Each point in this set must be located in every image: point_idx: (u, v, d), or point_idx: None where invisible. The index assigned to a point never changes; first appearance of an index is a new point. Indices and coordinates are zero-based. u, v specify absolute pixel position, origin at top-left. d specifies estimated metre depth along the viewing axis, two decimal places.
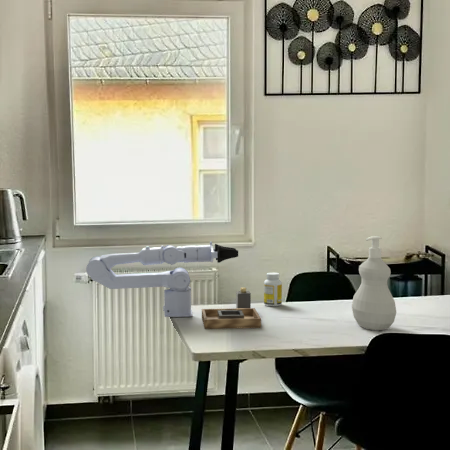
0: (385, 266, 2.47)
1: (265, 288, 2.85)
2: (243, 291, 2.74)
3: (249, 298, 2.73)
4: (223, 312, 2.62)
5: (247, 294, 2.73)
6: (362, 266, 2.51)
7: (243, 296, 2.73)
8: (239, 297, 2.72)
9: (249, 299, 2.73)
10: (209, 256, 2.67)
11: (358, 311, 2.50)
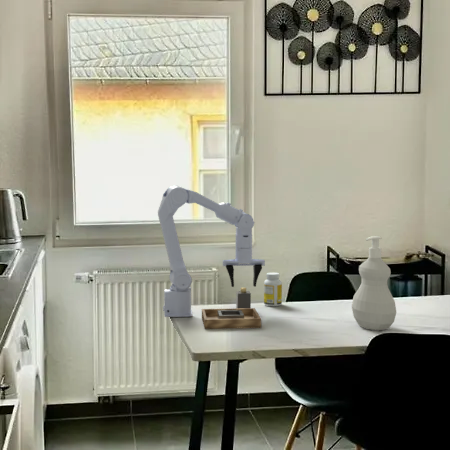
0: (385, 266, 2.47)
1: (265, 288, 2.85)
2: (243, 291, 2.74)
3: (249, 298, 2.73)
4: (223, 312, 2.62)
5: (247, 294, 2.73)
6: (362, 266, 2.51)
7: (243, 296, 2.73)
8: (239, 297, 2.72)
9: (249, 299, 2.73)
10: (251, 259, 2.73)
11: (358, 311, 2.50)
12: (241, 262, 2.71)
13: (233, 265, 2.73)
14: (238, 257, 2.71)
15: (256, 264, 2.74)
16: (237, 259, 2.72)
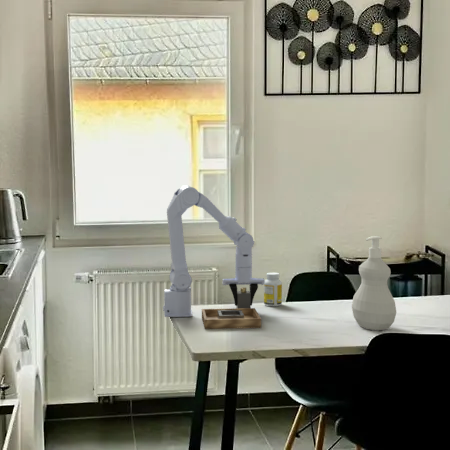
0: (385, 266, 2.47)
1: (265, 288, 2.85)
2: (243, 291, 2.74)
3: (249, 298, 2.73)
4: (223, 312, 2.62)
5: (247, 294, 2.73)
6: (362, 266, 2.51)
7: (243, 296, 2.73)
8: (239, 297, 2.72)
9: (249, 299, 2.73)
10: (251, 278, 2.74)
11: (358, 311, 2.50)
12: (241, 281, 2.71)
13: None
14: (238, 276, 2.72)
15: (256, 283, 2.74)
16: (237, 278, 2.72)
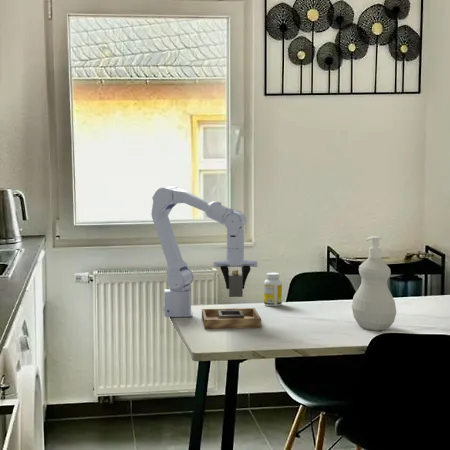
0: (385, 266, 2.47)
1: (265, 288, 2.85)
2: (235, 274, 2.62)
3: (241, 281, 2.61)
4: (223, 312, 2.62)
5: (239, 277, 2.61)
6: (362, 266, 2.51)
7: (235, 279, 2.61)
8: (231, 280, 2.61)
9: (241, 282, 2.61)
10: (243, 260, 2.62)
11: (358, 311, 2.50)
12: (233, 263, 2.60)
13: None
14: (229, 258, 2.60)
15: (248, 265, 2.63)
16: (228, 260, 2.61)
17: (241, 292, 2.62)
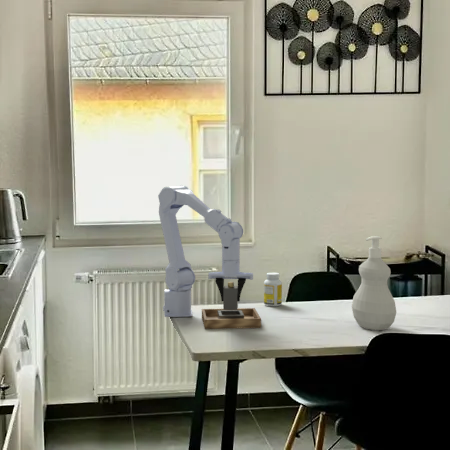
0: (385, 266, 2.47)
1: (265, 288, 2.85)
2: (230, 286, 2.57)
3: (236, 293, 2.56)
4: (223, 312, 2.62)
5: (233, 289, 2.56)
6: (362, 266, 2.51)
7: (229, 291, 2.56)
8: (225, 292, 2.56)
9: (236, 294, 2.56)
10: (238, 272, 2.56)
11: (358, 311, 2.50)
12: (226, 275, 2.55)
13: None
14: (224, 270, 2.55)
15: (244, 278, 2.57)
16: (223, 272, 2.56)
17: (235, 305, 2.56)
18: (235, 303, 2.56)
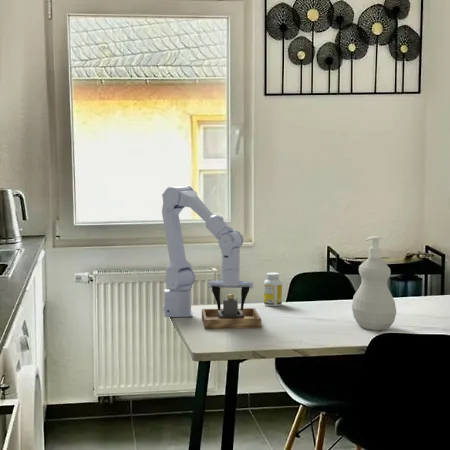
0: (385, 266, 2.47)
1: (265, 288, 2.85)
2: (230, 298, 2.57)
3: (235, 306, 2.56)
4: None
5: (233, 301, 2.56)
6: (362, 266, 2.51)
7: (229, 303, 2.56)
8: (225, 304, 2.56)
9: (235, 307, 2.56)
10: (238, 281, 2.57)
11: (358, 311, 2.50)
12: (226, 284, 2.55)
13: (219, 287, 2.58)
14: (224, 279, 2.56)
15: (244, 286, 2.57)
16: (223, 281, 2.56)
17: None
18: None
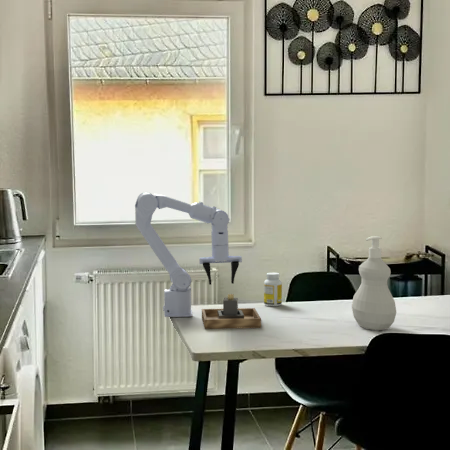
0: (385, 266, 2.47)
1: (265, 288, 2.85)
2: (230, 298, 2.57)
3: (235, 306, 2.56)
4: None
5: (233, 301, 2.56)
6: (362, 266, 2.51)
7: (229, 303, 2.56)
8: (225, 304, 2.56)
9: (235, 307, 2.56)
10: (228, 255, 2.70)
11: (358, 311, 2.50)
12: (217, 259, 2.68)
13: None
14: (214, 254, 2.69)
15: (233, 261, 2.71)
16: (213, 256, 2.69)
17: None
18: None
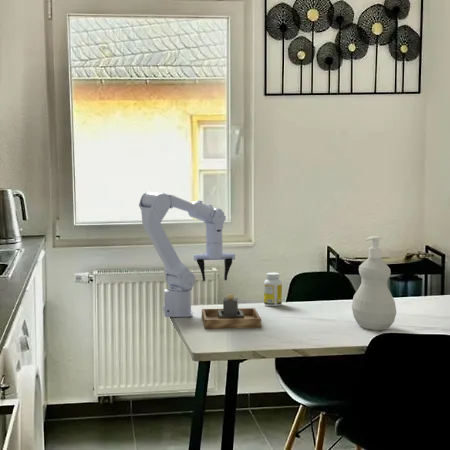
0: (385, 266, 2.47)
1: (265, 288, 2.85)
2: (230, 298, 2.57)
3: (235, 306, 2.56)
4: None
5: (233, 301, 2.56)
6: (362, 266, 2.51)
7: (229, 303, 2.56)
8: (225, 304, 2.56)
9: (235, 307, 2.56)
10: (222, 253, 2.77)
11: (358, 311, 2.50)
12: (211, 256, 2.75)
13: (204, 259, 2.77)
14: (208, 251, 2.75)
15: (227, 258, 2.78)
16: (208, 253, 2.76)
17: None
18: None
